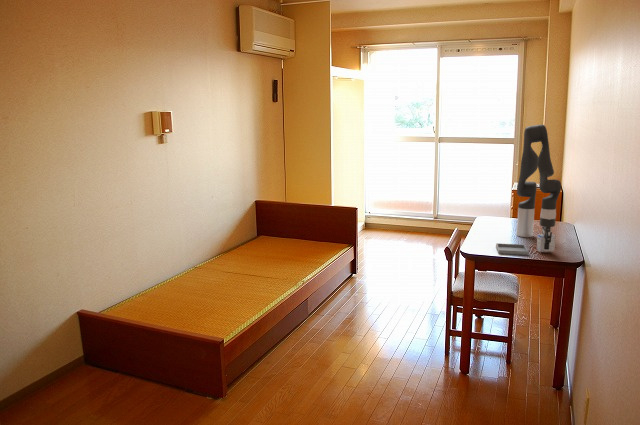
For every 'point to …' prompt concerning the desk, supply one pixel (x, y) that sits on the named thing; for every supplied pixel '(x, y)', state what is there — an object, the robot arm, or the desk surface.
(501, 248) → the tray
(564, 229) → the desk surface
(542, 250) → the medicine box
